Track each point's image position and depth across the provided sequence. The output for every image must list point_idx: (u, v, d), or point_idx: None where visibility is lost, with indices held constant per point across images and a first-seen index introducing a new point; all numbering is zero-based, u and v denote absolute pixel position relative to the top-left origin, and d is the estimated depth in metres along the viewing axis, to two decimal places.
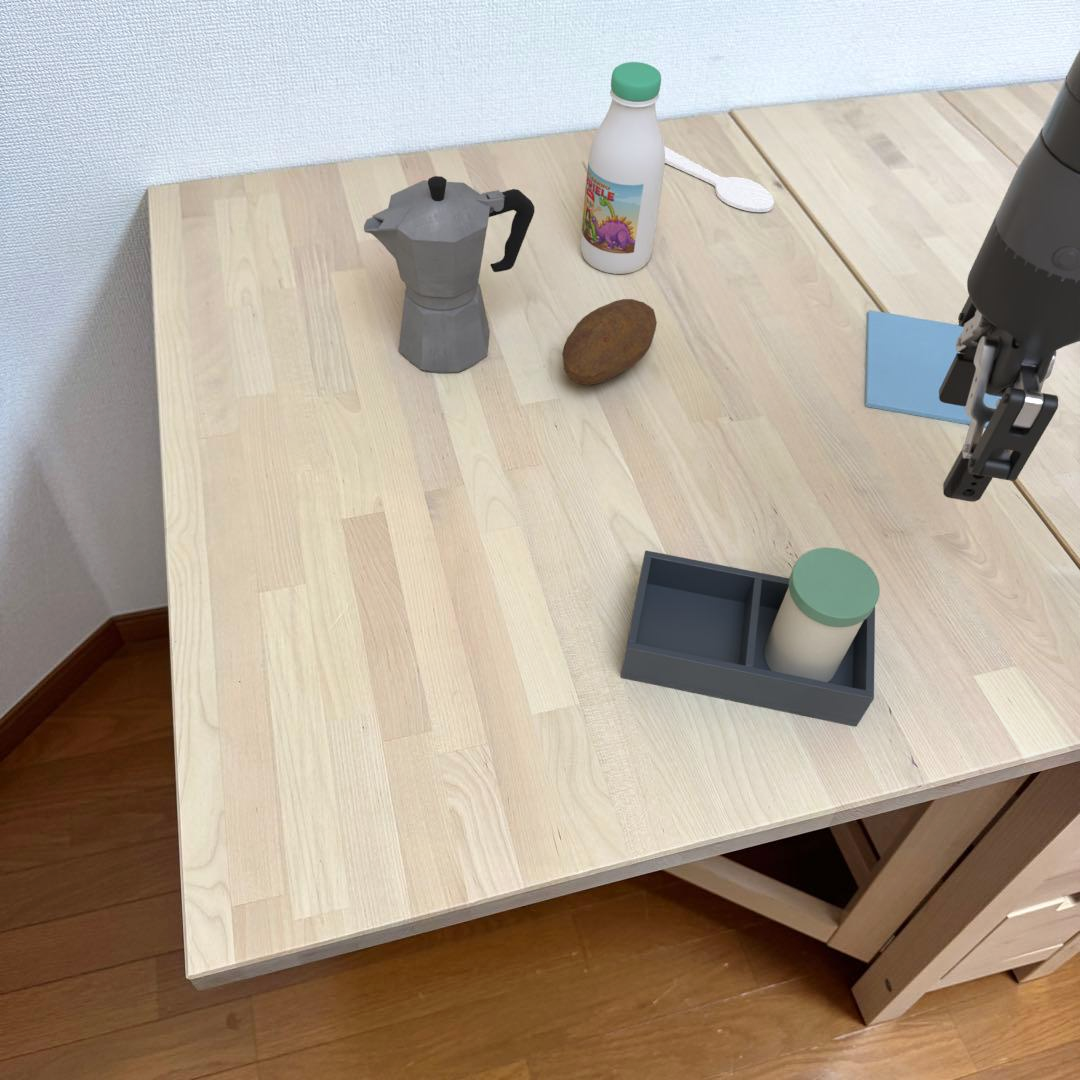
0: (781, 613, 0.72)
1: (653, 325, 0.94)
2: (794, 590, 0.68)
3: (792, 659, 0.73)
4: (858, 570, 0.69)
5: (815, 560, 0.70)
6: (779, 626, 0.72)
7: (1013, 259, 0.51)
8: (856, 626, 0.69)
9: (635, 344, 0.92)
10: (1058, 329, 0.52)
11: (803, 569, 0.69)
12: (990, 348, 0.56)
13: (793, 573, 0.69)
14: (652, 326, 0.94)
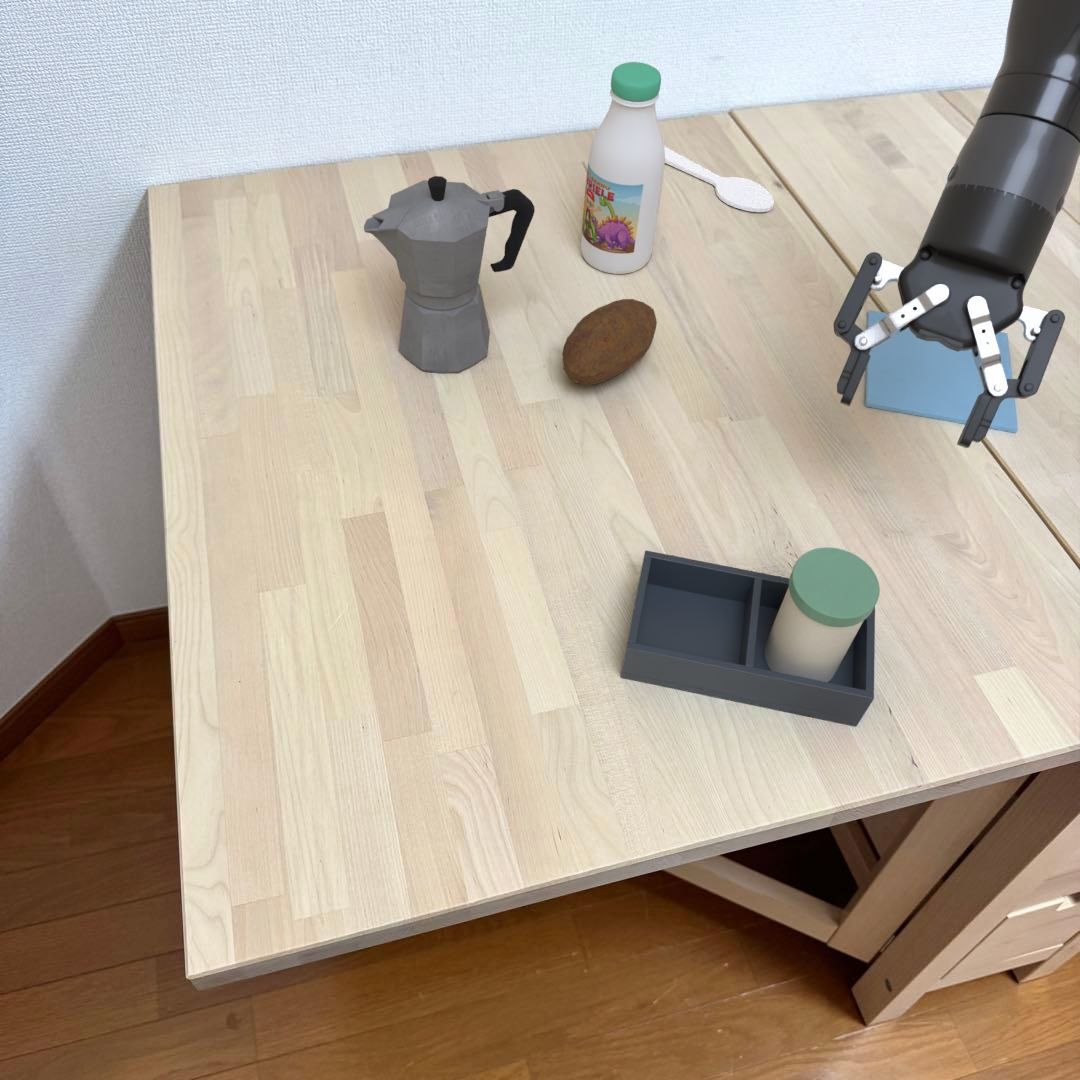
0: (781, 613, 0.72)
1: (653, 325, 0.94)
2: (794, 590, 0.68)
3: (792, 659, 0.73)
4: (858, 570, 0.69)
5: (815, 560, 0.70)
6: (779, 626, 0.72)
7: (1038, 211, 0.65)
8: (856, 626, 0.69)
9: (635, 344, 0.92)
10: None
11: (803, 569, 0.69)
12: None
13: (793, 573, 0.69)
14: (652, 326, 0.94)
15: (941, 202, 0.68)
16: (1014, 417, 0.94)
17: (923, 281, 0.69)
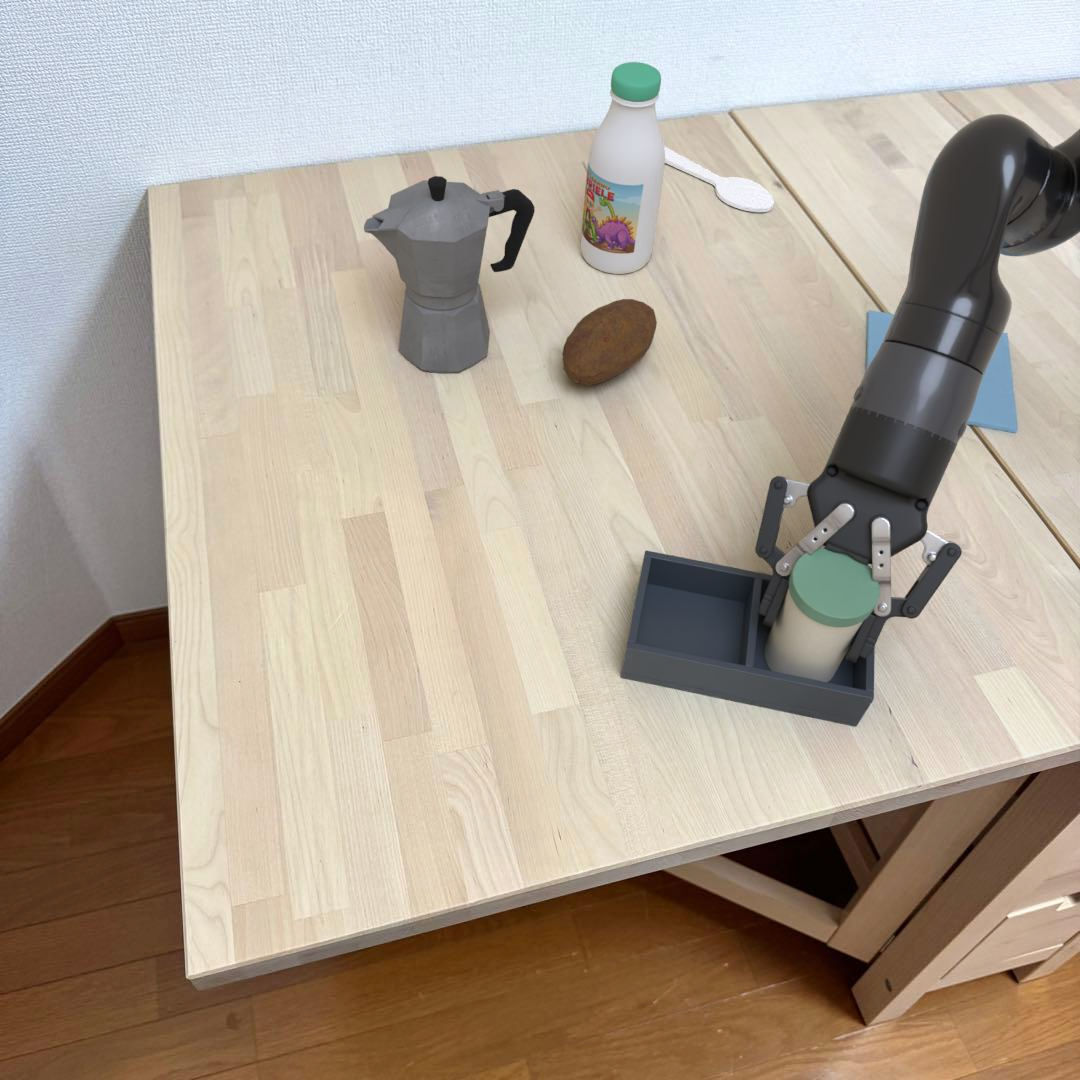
0: (781, 613, 0.72)
1: (653, 325, 0.94)
2: (794, 590, 0.68)
3: (792, 659, 0.73)
4: (858, 570, 0.69)
5: (815, 560, 0.70)
6: (779, 626, 0.72)
7: (938, 441, 0.66)
8: (856, 626, 0.69)
9: (635, 344, 0.92)
10: None
11: (803, 569, 0.69)
12: (889, 523, 0.68)
13: (793, 573, 0.69)
14: (652, 326, 0.94)
15: (847, 422, 0.69)
16: (1014, 417, 0.94)
17: (830, 497, 0.70)
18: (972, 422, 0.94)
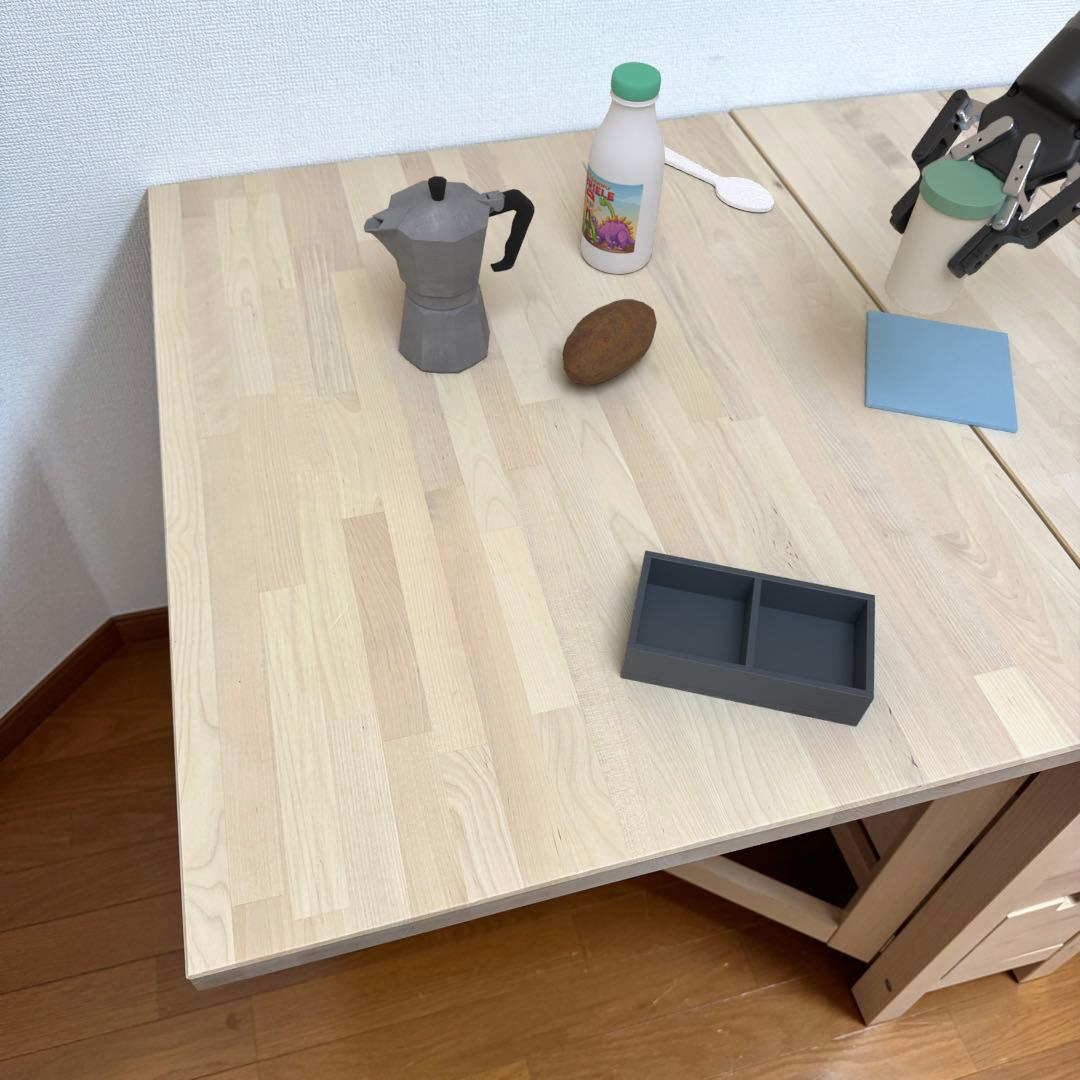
0: None
1: (653, 325, 0.94)
2: None
3: (902, 265, 0.77)
4: (993, 183, 0.73)
5: (958, 165, 0.74)
6: None
7: None
8: (967, 228, 0.73)
9: (635, 344, 0.92)
10: None
11: (942, 166, 0.74)
12: (1041, 142, 0.71)
13: (931, 165, 0.74)
14: (652, 326, 0.94)
15: None
16: (1014, 417, 0.94)
17: (999, 115, 0.73)
18: (972, 422, 0.94)
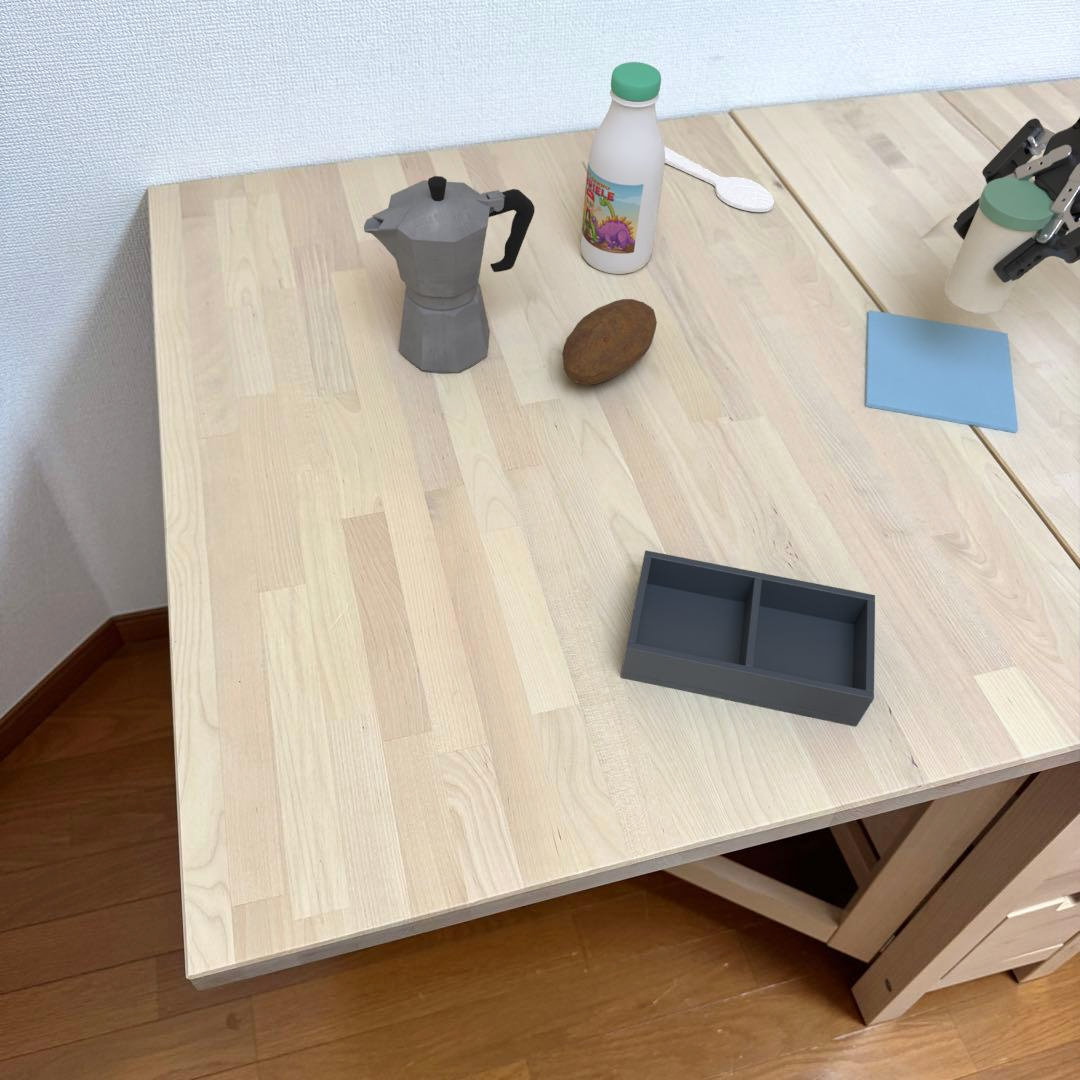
0: None
1: (653, 325, 0.94)
2: (984, 188, 0.84)
3: (958, 266, 0.88)
4: (1045, 202, 0.83)
5: (1018, 183, 0.84)
6: None
7: None
8: (1013, 238, 0.83)
9: (635, 344, 0.92)
10: None
11: (1003, 182, 0.84)
12: None
13: (993, 180, 0.85)
14: (652, 326, 0.94)
15: None
16: (1014, 417, 0.94)
17: (1063, 143, 0.83)
18: (972, 422, 0.94)
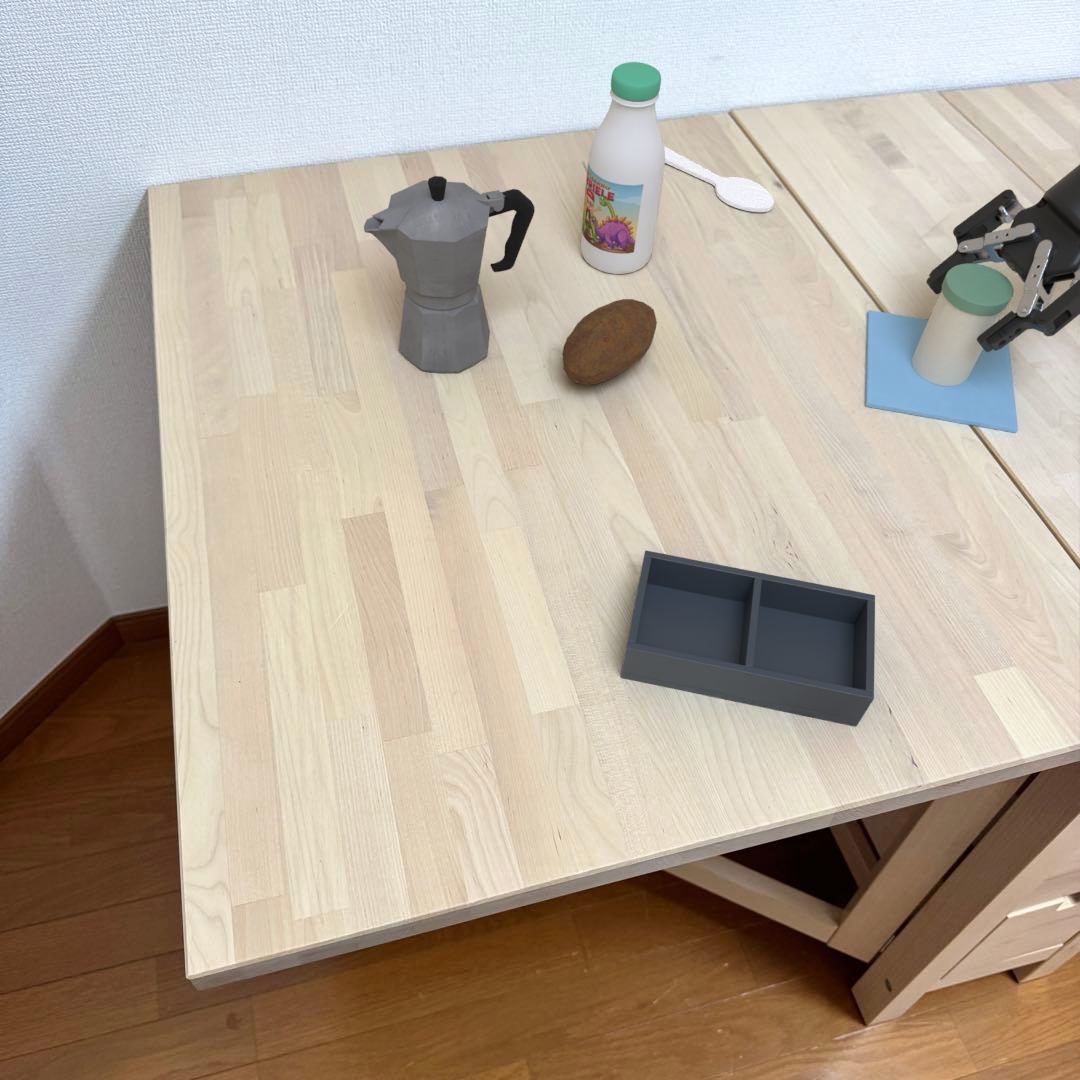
0: None
1: (653, 325, 0.94)
2: (946, 274, 0.91)
3: (924, 342, 0.95)
4: (1002, 288, 0.90)
5: (978, 269, 0.91)
6: None
7: None
8: (973, 321, 0.90)
9: (635, 344, 0.92)
10: None
11: (964, 268, 0.91)
12: (1053, 248, 0.87)
13: (955, 266, 0.92)
14: (652, 326, 0.94)
15: None
16: (1014, 417, 0.94)
17: (1027, 221, 0.89)
18: (972, 422, 0.94)
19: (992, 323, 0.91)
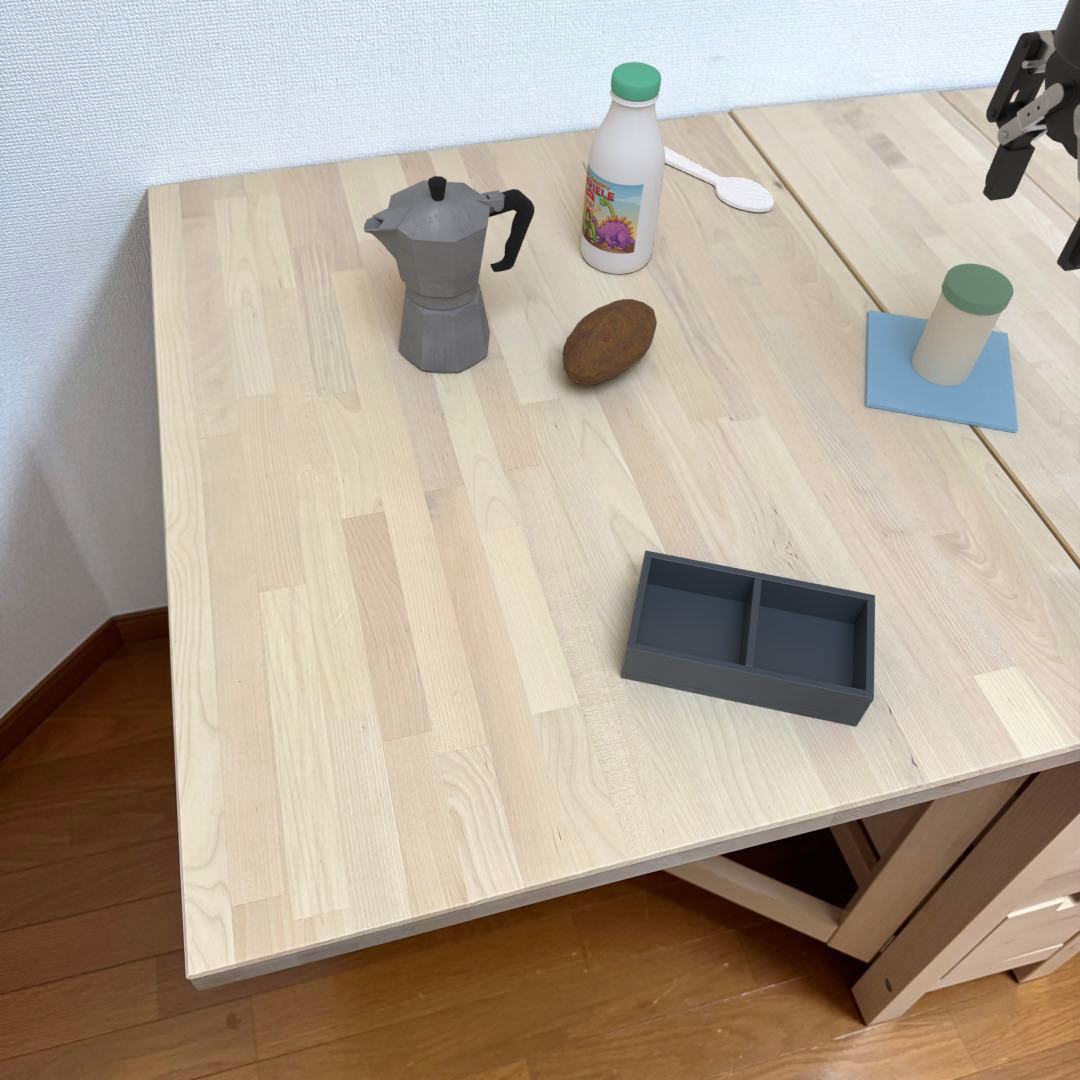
0: None
1: (653, 325, 0.94)
2: (946, 274, 0.91)
3: (924, 342, 0.95)
4: (1002, 288, 0.90)
5: (978, 269, 0.91)
6: None
7: None
8: (973, 321, 0.90)
9: (635, 344, 0.92)
10: None
11: (964, 268, 0.91)
12: None
13: (955, 266, 0.92)
14: (652, 326, 0.94)
15: None
16: (1014, 417, 0.94)
17: (1058, 73, 0.61)
18: (972, 422, 0.94)
19: (992, 323, 0.91)
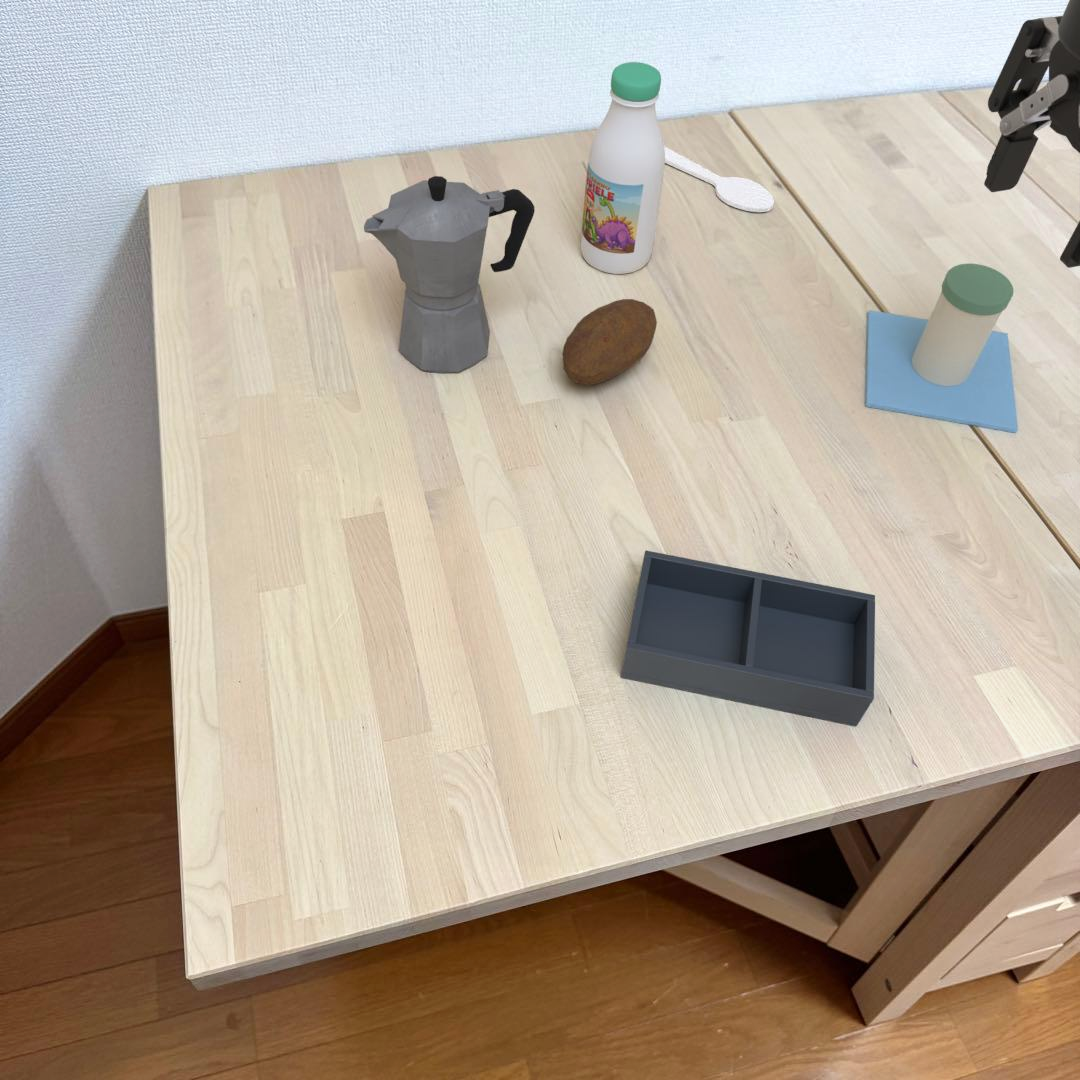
0: None
1: (653, 325, 0.94)
2: (946, 274, 0.91)
3: (924, 342, 0.95)
4: (1002, 288, 0.90)
5: (978, 269, 0.91)
6: None
7: None
8: (973, 321, 0.90)
9: (635, 344, 0.92)
10: None
11: (964, 268, 0.91)
12: None
13: (955, 266, 0.92)
14: (652, 326, 0.94)
15: None
16: (1014, 417, 0.94)
17: (1063, 64, 0.59)
18: (972, 422, 0.94)
19: (992, 323, 0.91)
